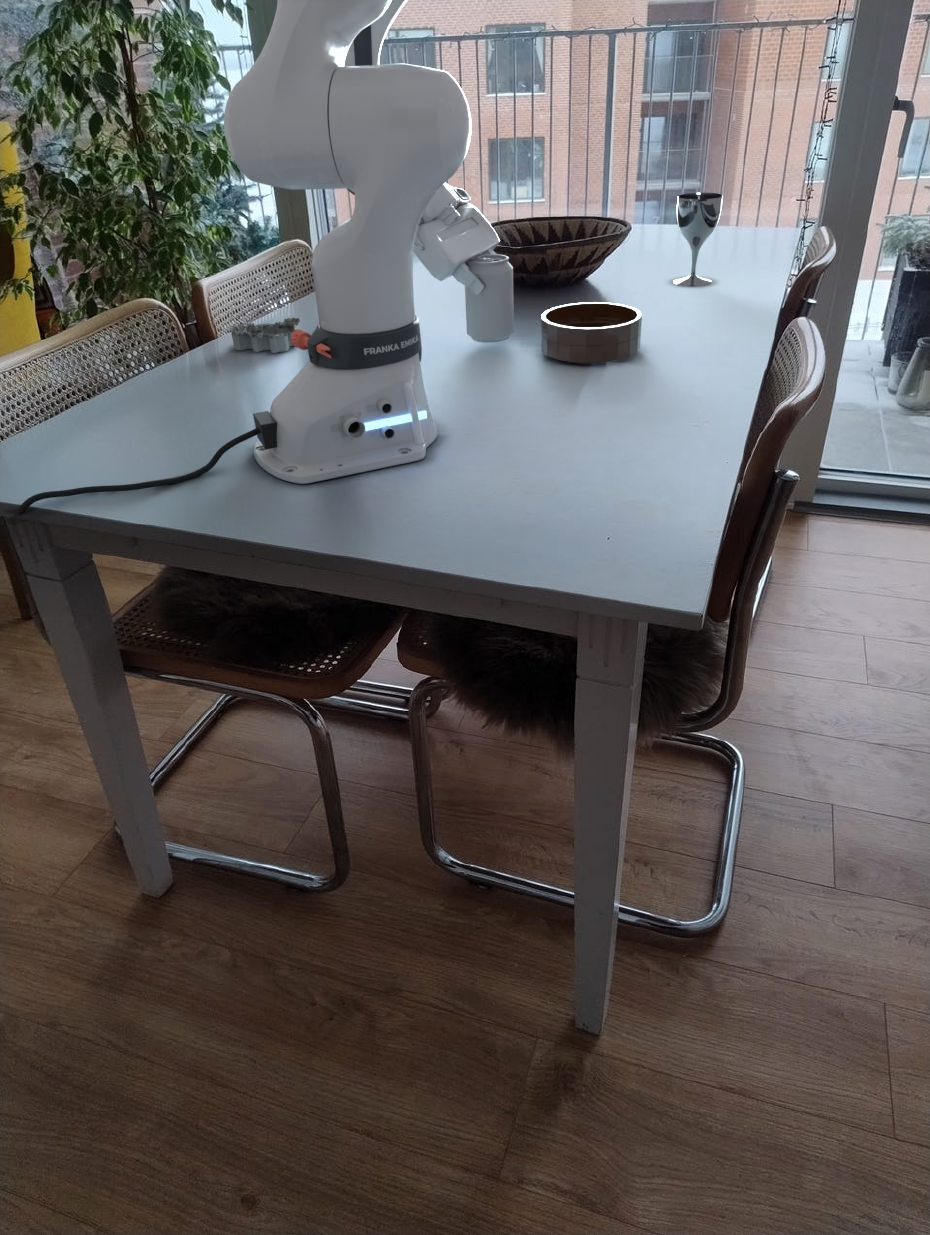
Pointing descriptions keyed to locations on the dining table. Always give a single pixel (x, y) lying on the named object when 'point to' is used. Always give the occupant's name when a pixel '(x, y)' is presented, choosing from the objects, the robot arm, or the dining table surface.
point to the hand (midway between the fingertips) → (492, 284)
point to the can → (490, 299)
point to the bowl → (591, 332)
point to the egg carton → (264, 335)
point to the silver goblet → (697, 227)
